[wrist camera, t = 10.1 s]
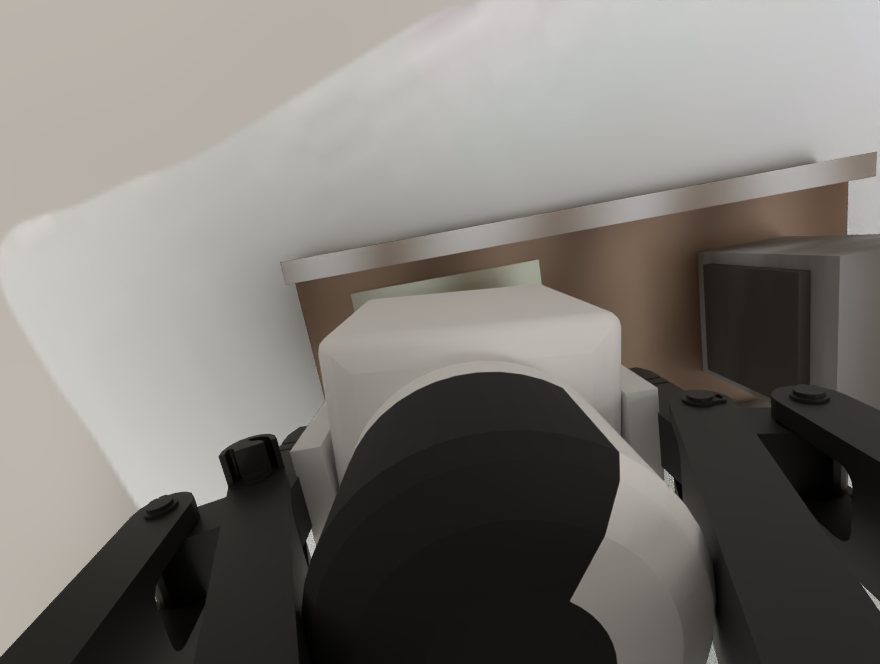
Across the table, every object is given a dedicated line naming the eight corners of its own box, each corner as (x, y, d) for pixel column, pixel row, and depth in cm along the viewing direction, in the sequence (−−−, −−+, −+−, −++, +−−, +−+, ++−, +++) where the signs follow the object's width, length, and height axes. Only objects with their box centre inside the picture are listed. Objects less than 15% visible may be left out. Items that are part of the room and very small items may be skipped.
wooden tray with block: (818, 163, 20) (1089, 107, 12) (815, 392, 23) (1037, 479, 14) (299, 259, 21) (209, 270, 12) (352, 471, 23) (306, 597, 15)
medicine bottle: (385, 462, 18) (289, 888, 6) (364, 298, 16) (181, 443, 5) (550, 447, 18) (776, 850, 6) (544, 282, 16) (831, 385, 4)
